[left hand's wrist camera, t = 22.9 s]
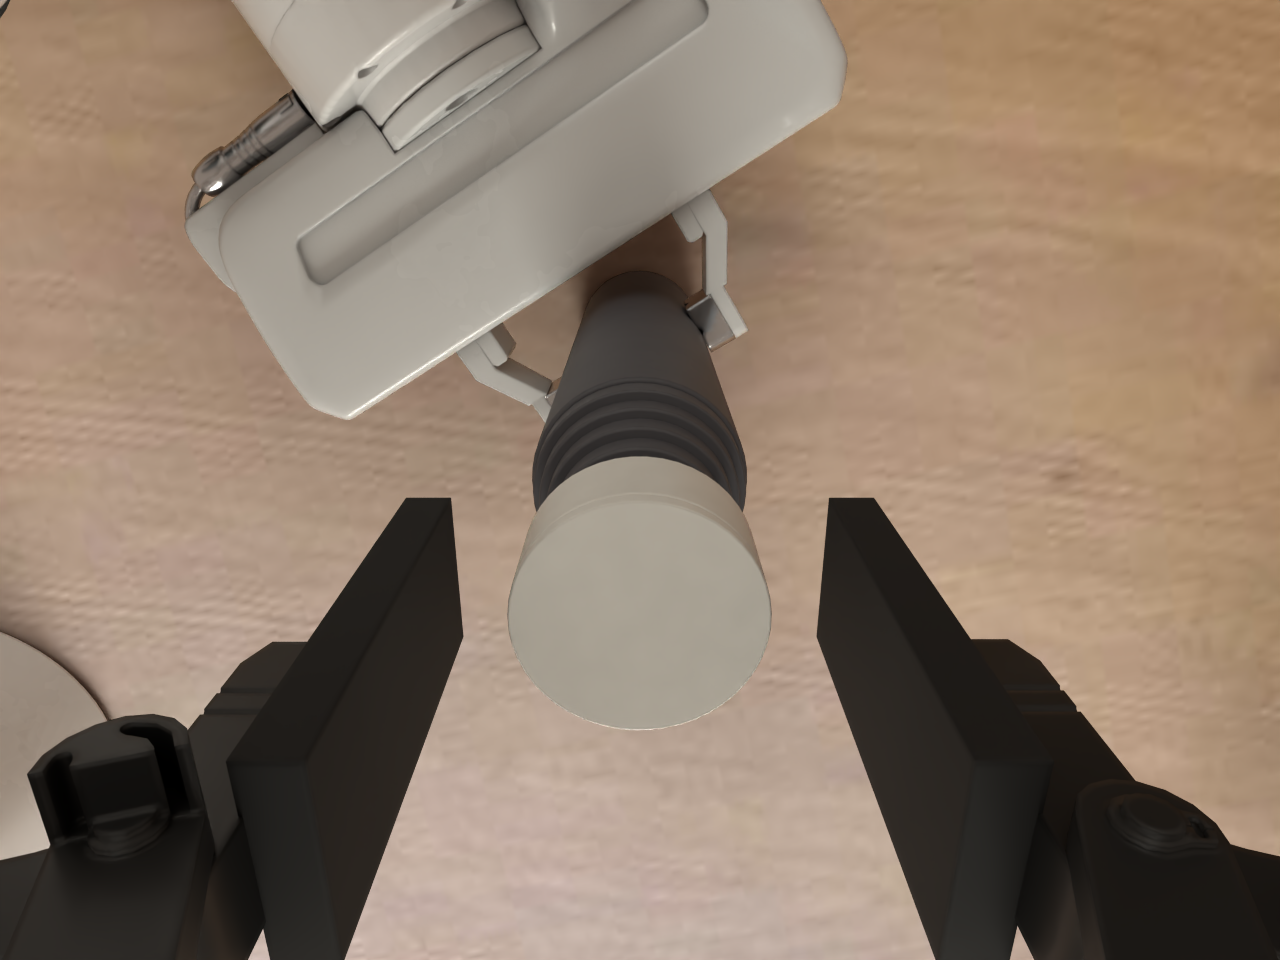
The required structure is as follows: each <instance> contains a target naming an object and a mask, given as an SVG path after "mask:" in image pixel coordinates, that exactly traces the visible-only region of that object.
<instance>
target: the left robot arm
mask: <svg viewBox="0 0 1280 960" xmlns="http://www.w3.org/2000/svg"><path fill="white" fill-rule="evenodd" d="M462 639H463V627H462V616H461V605H460V594H459V583H458V572H457V560H456V549H455V538H454V527H453V516H452V505H451V498H406V499H405V500H404V502H403V503H402V505H401V506H400V508H399V509H398V510H397V512H396V513H395V515H394V516H393V518H392V519H391V521H390V522H389V524H388V525H387V527H386V528H385V529H384V531H383V532H382V534H381V535H380V537H379V538H378V540H377V541H376V543H375V544H374V545H373V547H372V548H371V550H370V551H369V553H368V554H367V556H366V557H365V559H364V560H363V562H362V563H361V564H360V566H359V567H358V569H357V570H356V572H355V573H354V575H353V576H352V578H351V579H350V580H349V582H348V583H347V585H346V586H345V588H344V589H343V591H342V592H341V594H340V595H339V597H338V598H337V599H336V601H335V602H334V604H333V605H332V607H331V608H330V610H329V611H328V613H327V614H326V615H325V617H324V618H323V620H322V621H321V623H320V624H319V626H318V627H317V629H316V630H315V632H314V633H313V634H312V636H311V637H310V639H309V640H308V642H272V643H270V644H269V645H267V646H266V647H264V648H263V649H261V650H260V651H258V652H257V653H255V654H254V655H252V656H251V657H249V658H248V659H246V660H245V661H243V662H242V663H240V665H239V666H238V667H237V668H236V670H235V671H234V672H233V673H232V675H231V676H230V677H229V679H228V680H227V681H226V682H225V684H224V685H223V686H222V687H221V692H220V693H217V694H216V695H215V696H214V698H213V699H212V700H211V701H210V703H209V704H208V705H207V706H206V708H205V709H204V715H199V717H198V718H197V719H196V720H195V722H194V723H193V724H192V725H191V727H190V728H189V729H188V731H187V728H186V727H185V726H183V725H182V724H181V723H180V722H178V721H177V720H176V719H175V718H171V717H166V716H161V715H155V714H147V715H134V716H125V717H121V718H117V719H113V720H110V721H106V722H102V723H99V724H95V725H93V726H91V727H89V728H87V729H84V730H82V731H80V732H78V733H76V734H74V735H72V736H69V737H67V738H65V739H64V740H63V741H61V742H60V743H58V744H57V745H56V746H54V747H53V748H52V749H50V750H49V751H47V752H46V753H45V754H43V755H42V756H41V757H40V758H39V760H38V761H37V762H36V763H35V765H34V766H33V767H32V768H31V770H30V771H29V772H28V773H27V777H28V780H29V783H30V786H31V789H32V792H33V795H34V798H35V801H36V804H37V807H38V809H39V812H40V815H41V818H42V821H43V824H44V827H45V830H46V833H47V836H48V839H49V842H50V846H49V848H47V849H44V850H41V851H37V852H34V853H29V854H25V855H21V856H16V857H12V858H7V859H3V860H0V960H248V958H249V956H250V954H251V952H252V950H253V948H254V946H255V944H256V942H257V940H258V938H259V936H260V934H261V932H262V930H264V934H265V938H266V943H267V947H268V952H269V956H270V960H344V959H345V957H346V954H347V951H348V949H349V946H350V943H351V940H352V938H353V935H354V932H355V930H356V927H357V924H358V921H359V919H360V916H361V913H362V911H363V908H364V905H365V902H366V900H367V897H368V894H369V892H370V889H371V886H372V883H373V881H374V878H375V875H376V873H377V870H378V867H379V864H380V862H381V859H382V856H383V854H384V851H385V848H386V845H387V843H388V840H389V837H390V835H391V832H392V829H393V826H394V824H395V821H396V818H397V816H398V813H399V810H400V807H401V805H402V802H403V799H404V796H405V794H406V791H407V788H408V786H409V783H410V780H411V777H412V775H413V772H414V769H415V767H416V764H417V761H418V758H419V756H420V753H421V750H422V748H423V745H424V742H425V739H426V737H427V734H428V731H429V729H430V726H431V723H432V720H433V718H434V715H435V712H436V710H437V707H438V704H439V701H440V699H441V696H442V693H443V691H444V688H445V685H446V682H447V680H448V677H449V674H450V672H451V669H452V666H453V663H454V661H455V658H456V655H457V653H458V650H459V647H460V644H461V642H462ZM817 639H818V642H819V644H820V647H821V650H822V653H823V655H824V658H825V661H826V663H827V666H828V669H829V672H830V674H831V677H832V680H833V682H834V685H835V688H836V691H837V693H838V696H839V699H840V701H841V704H842V707H843V710H844V712H845V715H846V718H847V720H848V723H849V726H850V729H851V731H852V734H853V737H854V739H855V742H856V745H857V748H858V750H859V753H860V756H861V758H862V761H863V764H864V767H865V769H866V772H867V775H868V777H869V780H870V783H871V786H872V788H873V791H874V794H875V796H876V799H877V802H878V805H879V807H880V810H881V813H882V816H883V818H884V821H885V824H886V826H887V829H888V832H889V835H890V837H891V840H892V843H893V845H894V848H895V851H896V854H897V856H898V859H899V862H900V864H901V867H902V870H903V873H904V875H905V878H906V881H907V883H908V886H909V889H910V892H911V894H912V897H913V900H914V902H915V905H916V908H917V911H918V913H919V916H920V919H921V921H922V924H923V927H924V930H925V932H926V935H927V938H928V940H929V943H930V946H931V949H932V951H933V954H934V957H935V959H936V960H1010V956H1011V952H1012V947H1013V943H1014V938H1015V934H1016V930H1017V925H1018V927H1019V930H1020V932H1021V934H1022V936H1023V938H1024V940H1025V942H1026V944H1027V946H1028V948H1029V950H1030V952H1031V954H1032V956H1033V958H1034V960H1280V856H1275V855H1271V854H1266V853H1262V852H1258V851H1253V850H1249V849H1245V848H1242V847H1238V846H1235V845H1231V844H1230V843H1229V841H1228V840H1227V839H1226V837H1225V836H1224V834H1223V833H1222V831H1221V830H1220V828H1219V827H1218V826H1217V824H1216V823H1215V822H1214V821H1213V820H1211V819H1210V818H1209V817H1208V816H1206V815H1205V814H1204V813H1203V812H1202V811H1200V810H1199V809H1198V808H1197V807H1195V806H1194V805H1193V804H1191V803H1189V802H1187V801H1185V800H1183V799H1181V798H1179V797H1178V796H1176V795H1174V794H1172V793H1170V792H1168V791H1166V790H1163V789H1160V788H1157V787H1154V786H1150V785H1147V784H1144V783H1141V782H1137V781H1135V780H1134V778H1133V777H1132V776H1131V775H1130V773H1129V772H1128V771H1127V770H1126V768H1125V767H1124V766H1123V764H1122V763H1121V762H1120V761H1119V759H1118V758H1117V757H1116V756H1115V754H1114V753H1113V752H1112V751H1111V749H1110V748H1109V747H1108V746H1107V744H1106V743H1105V742H1104V741H1103V739H1102V738H1101V737H1100V736H1099V734H1098V733H1097V732H1096V730H1095V729H1094V728H1093V727H1092V725H1091V724H1090V723H1089V722H1088V720H1087V719H1086V718H1085V717H1084V715H1083V714H1082V713H1081V712H1077V710H1076V705H1075V704H1074V703H1073V702H1072V700H1071V699H1070V698H1069V696H1068V695H1067V694H1066V693H1065V691H1061V690H1060V685H1059V684H1058V683H1057V681H1056V680H1055V679H1054V678H1053V676H1052V675H1051V674H1050V673H1049V671H1048V670H1047V669H1046V668H1045V666H1044V665H1043V664H1042V662H1041V661H1040V660H1038V659H1037V658H1035V657H1034V656H1032V655H1031V654H1029V653H1028V652H1026V651H1025V650H1023V649H1022V648H1020V647H1019V646H1017V645H1016V644H1014V643H1013V642H1011V641H1010V640H1008V639H970V637H969V636H968V634H967V633H966V632H965V630H964V629H963V627H962V626H961V624H960V623H959V621H958V620H957V618H956V617H955V615H954V614H953V613H952V611H951V610H950V608H949V607H948V605H947V604H946V602H945V601H944V599H943V598H942V597H941V595H940V594H939V592H938V591H937V589H936V588H935V586H934V585H933V583H932V582H931V580H930V579H929V578H928V576H927V575H926V573H925V572H924V570H923V569H922V567H921V566H920V564H919V563H918V562H917V560H916V559H915V557H914V556H913V554H912V553H911V551H910V550H909V548H908V547H907V545H906V544H905V543H904V541H903V540H902V538H901V537H900V535H899V534H898V532H897V531H896V529H895V528H894V527H893V525H892V524H891V522H890V521H889V519H888V518H887V516H886V515H885V513H884V512H883V510H882V509H881V508H880V506H879V505H878V503H877V502H876V500H875V499H874V498H829V505H828V516H827V527H826V538H825V549H824V560H823V572H822V583H821V594H820V605H819V616H818V627H817Z"/></svg>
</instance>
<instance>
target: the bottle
mask: <svg viewBox="0 0 1280 960" xmlns="http://www.w3.org/2000/svg"><path fill="white" fill-rule="evenodd" d="M686 299H688V297H687V295H686V294H685V293H684V292H683V290H682V289H681V288H680V287H679V286H678V285H676V284H675V283H674V282H672V281H671V280H670V279H668V278H666V277H664V276H661V275H659V274H656V273H651V272H645V271H634V272H628V273H624V274H621V275H618V276H616V277H614V278H612V279H610V280H608V281H607V282H606V283H604V284H603V285H602V286H601V287H600V288H599V289H598V290H597V291H596V292H595V293H594V294H593V296H592V298H591V299H590V301H589V303H588V305H587V307H586V310H585V313H584V315H583V318H582V321H581V324H580V327H579V330H578V332H577V335H576V338H575V341H574V344H573V347H572V349H571V352H570V355H569V358H568V361H567V364H566V366H565V369H564V372H563V375H562V378H561V380H560V383H559V386H558V389H557V392H556V395H555V397H554V400H553V403H552V406H551V409H550V412H549V414H548V417H547V420H546V423H545V426H544V429H543V431H542V434H541V437H540V440H539V443H538V446H537V449H536V452H535V456H534V462H533V473H532V482H533V495H534V504H535V508H536V512H537V511H538V509H539V508H540V506H541V505H542V504H543V502H544V501H545V500H546V498H547V497H548V496H549V495H550V494H551V493H552V492H553V491H554V490H555V489H556V488H557V487H558V486H559V485H560V484H561V483H563V482H564V481H565V480H567V479H568V478H570V477H571V476H572V475H574V474H576V473H578V472H580V471H581V470H583V469H585V468H587V467H590V466H592V465H595V464H598V463H600V462H604V461H608V460H612V459H616V458H624V457H655V458H663V459H667V460H671V461H675V462H679V463H681V464H684V465H687V466H689V467H692V468H694V469H696V470H698V471H699V472H701V473H703V474H705V475H707V476H708V477H709V478H711V479H712V480H714V481H715V482H716V483H718V484H719V485H720V486H721V487H722V488H723V489H724V490H725V491H726V492H727V493H728V494H729V495H730V496H731V497H732V498H733V500H734V501H735V502H736V503H737V505H738V506H739V508H740V509H741V511H742V513H743V509H744V505H745V497H746V484H747V467H746V461H745V455H744V452H743V448H742V445H741V442H740V439H739V436H738V434H737V431H736V428H735V425H734V422H733V419H732V416H731V414H730V411H729V408H728V405H727V402H726V399H725V397H724V394H723V391H722V388H721V385H720V382H719V380H718V377H717V374H716V371H715V368H714V365H713V363H712V360H711V357H710V354H709V351H708V348H707V345H706V343H705V341H704V338H703V336H702V333H701V330H700V328H697V326H696V325H695V324H694V323H693V321H692V319H691V318H690V316H689V314H688V313H687V311H686V309H685V305H684V302H683V301H685V300H686Z"/></svg>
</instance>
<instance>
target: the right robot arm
mask: <svg viewBox="0 0 1280 960" xmlns="http://www.w3.org/2000/svg"><path fill="white" fill-rule="evenodd" d="M231 1H232V2H233V3H234V5H235V7H236V8H237V9H238V11H239V12H240V14H241V15H242V17H243V18H244V19H245V21H246V22H247V24H248V25H249V27H250V28H251V29H252V31H253V32H254V34H255V35H256V37H257V38H258V39H259V41H260V42H261V44H262V45H263V47H264V48H265V49H266V51H267V52H268V54H269V55H270V56H271V58H272V59H273V61H274V62H275V63H276V65H277V66H278V67H279V69H280V70H281V72H282V73H283V75H284V76H285V78H286V79H287V81H288V82H289V84H290V85H291V86H292V88H293V89H292V91H291V92H290V93H287V94H286V95H284V96H283V97H282V98H280V99H279V101H278V102H276V103H275V104H274V105H272V106H271V107H270V108H268V109H267V110H266V111H264V112H263V113H262V114H261V115H259V116H258V117H257V118H256V119H255V120H254V121H253V122H252V123H251V124H250V125H249V126H248V127H247V128H246V129H245V130H244V131H243V132H242V133H241V134H240V135H239V136H237V137H236V138H235V139H234V140H233V141H231V142H230V143H229V144H227V145H226V146H225V147H223V146H221V147H219V148H216V149H215V150H213V151H212V152H210V153H209V154H208V155H206V156H205V157H204V158H203V159H202V160H201V161H200V162H199V163H198V164H197V165H196V167H195V168H194V169H193V171H192V178H193V180H194V182H195V183H194V185H193V186H192V188H191V190H190V191H189V193H188V196H187V199H186V204H185V230H186V233H187V235H188V237H189V239H190V241H191V243H192V244H193V246H194V247H195V249H196V250H197V251H198V253H199V254H200V255H201V256H202V258H203V259H204V260H205V261H206V263H207V264H208V265H209V267H210V268H211V269H212V270H213V272H214V273H215V274H216V275H217V277H218V278H219V279H220V280H221V281H222V282H223V283H224V284H225V285H226V286H227V287H228V288H230V289H231V290H233V291H234V292H236V293H237V294H238V296H239V298H240V300H241V302H242V304H243V305H244V307H245V309H246V311H247V312H248V314H249V316H250V318H251V319H252V321H253V323H254V324H255V326H256V328H257V330H258V331H259V333H260V335H261V336H262V338H263V339H264V341H265V343H266V344H267V346H268V347H269V349H270V351H271V352H272V354H273V355H274V357H275V358H276V360H277V361H278V363H279V364H280V366H281V367H282V369H283V370H284V372H285V373H286V375H287V376H288V378H289V379H290V380H291V382H292V383H293V385H294V386H295V388H296V389H297V390H298V392H299V393H300V394H301V396H302V397H303V398H304V399H305V401H306V402H307V403H308V404H309V405H310V406H311V407H312V408H314V409H315V410H317V411H320V412H323V413H326V414H329V415H332V416H335V417H338V418H341V419H345V420H350V419H353V418H355V417H356V416H358V415H360V414H361V413H363V412H364V411H366V410H367V409H369V408H371V407H372V406H374V405H375V404H377V403H378V402H380V401H381V400H383V399H384V398H386V397H388V396H389V395H391V394H392V393H394V392H395V391H397V390H398V389H400V388H401V387H403V386H405V385H406V384H408V383H409V382H411V381H412V380H414V379H415V378H417V377H418V376H420V375H422V374H423V373H425V372H426V371H428V370H429V369H431V368H432V367H434V366H435V365H437V364H439V363H440V362H442V361H443V360H445V359H446V358H448V357H449V356H451V355H452V354H454V353H457V354H458V356H459V357H460V359H461V360H462V361H463V363H464V364H465V366H466V367H467V368H468V370H469V371H470V373H471V374H472V375H473V377H474V378H475V380H476V381H478V382H480V383H482V384H484V385H486V386H488V387H490V388H492V389H495V390H497V391H499V392H501V393H503V394H505V395H507V396H509V397H511V398H513V399H515V400H518V401H520V402H522V403H524V404H526V405H528V406H530V405H533V406H534V408H535V409H536V411H537V412H538V413H539V415H540V416H541V418H542V419H543V421H544V422H545V423H546V420H547V417H548V414H549V412H550V409H551V406H552V403H553V400H554V397H555V395H556V392H557V389H558V386H559V383H560V380H561V378H562V377H560V378H558V379H557V380H555V381H553V382H552V381H551V380H550V379H548V378H546V377H544V376H542V375H540V374H538V373H537V372H535V371H533V370H531V369H529V368H527V367H525V366H524V365H522V364H520V363H518V362H516V361H514V360H513V359H511V358H509V356H510V355H511V353H512V352H513V350H514V348H515V346H516V342H515V341H514V339H513V338H512V336H511V335H510V333H509V332H508V330H507V329H506V327H505V326H504V324H503V323H502V322H503V321H505V320H507V319H508V318H510V317H511V316H513V315H514V314H516V313H517V312H519V311H521V310H522V309H524V308H525V307H527V306H528V305H530V304H531V303H533V302H534V301H536V300H538V299H539V298H541V297H542V296H544V295H545V294H547V293H548V292H550V291H551V290H553V289H555V288H556V287H558V286H559V285H561V284H562V283H564V282H565V281H567V280H568V279H570V278H572V277H573V276H575V275H576V274H578V273H579V272H581V271H582V270H584V269H585V268H587V267H589V266H590V265H592V264H593V263H595V262H596V261H598V260H599V259H601V258H602V257H604V256H606V255H607V254H609V253H610V252H612V251H613V250H615V249H616V248H618V247H619V246H621V245H623V244H624V243H626V242H627V241H629V240H630V239H632V238H633V237H635V236H636V235H638V234H640V233H641V232H643V231H644V230H646V229H647V228H649V227H650V226H652V225H653V224H655V223H657V222H658V221H660V220H661V219H663V218H664V217H666V216H667V215H669V214H670V213H671V214H672V216H673V218H674V219H675V221H676V223H677V224H678V226H679V228H680V229H681V231H682V233H683V234H684V236H685V238H686V239H687V241H688V242H694V241H696V240H698V239H699V238H701V237H702V288H703V289H702V290H700V291H699V292H697V293H695V294H694V295H692V296H691V297H689V298H688V299H686V300H685V301H683V302H684V305H685V309H686V311H687V313H688V314H689V316H690V318H691V319H692V321H693V323H694V324H695V325H696V326H697V328H700V330H701V333H702V336H703V338H704V341H705V343H706V345H707V346H708V348H709V349H710V351H711V352H713V351H715V350H716V349H718V348H720V347H722V346H723V345H725V344H727V343H728V342H730V341H732V340H734V339H735V338H737V337H738V336H740V335H742V334H744V333H745V332H747V331H749V330H748V328H747V326H746V324H745V322H744V320H743V318H742V317H741V315H740V313H739V312H738V310H737V308H736V306H735V305H734V303H733V301H732V299H731V298H730V296H729V294H728V292H727V291H726V289H725V287H724V285H726V284H727V220H726V218H725V216H724V215H723V213H722V211H721V209H720V207H719V206H718V204H717V202H716V200H715V198H714V197H713V195H712V193H711V191H710V189H709V188H711V187H712V186H714V185H715V184H717V183H718V182H720V181H721V180H723V179H725V178H726V177H728V176H729V175H731V174H732V173H734V172H735V171H737V170H738V169H740V168H742V167H743V166H745V165H746V164H748V163H749V162H751V161H752V160H754V159H755V158H757V157H759V156H760V155H762V154H763V153H765V152H766V151H768V150H769V149H771V148H772V147H774V146H776V145H777V144H779V143H780V142H782V141H783V140H785V139H786V138H788V137H789V136H791V135H793V134H794V133H796V132H797V131H799V130H800V129H802V128H803V127H805V126H806V125H808V124H810V123H811V122H813V121H814V120H816V119H817V118H819V117H820V116H822V115H823V114H825V113H826V112H828V111H830V110H831V109H833V108H834V107H835V106H836V105H838V103H839V102H840V100H841V97H842V93H843V88H844V84H845V79H846V72H847V65H848V60H847V54H846V51H845V48H844V45H843V43H842V41H841V39H840V37H839V35H838V32H837V30H836V28H835V26H834V24H833V23H832V21H831V19H830V17H829V15H828V13H827V11H826V9H825V7H824V6H823V4H822V2H821V0H231ZM9 2H10V0H0V18H1V16H2V15H3V13H4V12H5V10H6V9H7V6H8V4H9ZM261 162H262V163H261ZM258 164H259V165H258ZM257 165H258V166H257ZM255 166H256V167H255ZM253 168H254V169H253ZM249 171H250V172H249ZM205 194H207V195H209V196H211V197H215V196H216V197H215V198H213V199H212V200H211V201H209V202H208V203H207V204H205V205H204V206H203V207H201V208H200V209H199V207H200V203H201V201H202V198H203V196H204V195H205ZM106 721H107V719H106V717H105V715H104V714H103V712H102V710H101V709H100V707H99V706H98V704H97V703H96V702H95V700H94V699H93V698H92V696H91V695H90V694H89V693H88V692H87V691H86V689H85V688H84V687H83V686H82V685H81V684H80V683H79V682H78V681H77V680H76V679H75V678H74V677H73V676H72V675H71V674H70V673H69V672H67V671H66V670H65V669H64V668H63V667H61V666H60V665H59V664H58V663H56V662H55V661H53V660H52V659H51V658H49V657H48V656H46V655H45V654H43V653H42V652H40V651H39V650H37V649H35V648H33V647H32V646H30V645H28V644H26V643H24V642H22V641H20V640H18V639H16V638H14V637H12V636H10V635H7V634H5V633H2V632H0V860H3V859H7V858H12V857H16V856H21V855H25V854H29V853H34V852H37V851H41V850H44V849H47V848H49V846H50V842H49V839H48V836H47V833H46V830H45V827H44V824H43V821H42V818H41V815H40V812H39V809H38V807H37V804H36V801H35V798H34V795H33V792H32V789H31V786H30V783H29V780H28V777H27V773H28V772H29V771H30V770H31V768H32V767H33V766H34V765H35V763H36V762H37V761H38V760H39V758H40V757H41V756H42V755H43V754H45V753H46V752H47V751H49V750H50V749H52V748H53V747H54V746H56V745H57V744H58V743H60V742H61V741H63V740H64V739H65V738H67V737H69V736H72V735H74V734H76V733H78V732H80V731H82V730H84V729H87V728H89V727H91V726H93V725H95V724H99V723H102V722H106Z"/></svg>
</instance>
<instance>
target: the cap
mask: <svg viewBox="0 0 1280 960" xmlns="http://www.w3.org/2000/svg"><path fill="white" fill-rule="evenodd" d="M507 615H508V629H509V634H510V638H511V643H512V646H513V648H514V651H515V654H516V656H517V659H518V660H519V662H520V664H521V666H522V668H523V669H524V671H525V673H526V674H527V675H528V677H529V678H530V680H531V681H532V682H533V684H534V685H535V686H536V687H537V688H538V689H539V690H540V691H541V692H542V693H543V694H544V695H545V696H546V697H548V698H549V699H550V700H551V701H553V702H554V703H555V704H556V705H558V706H560V707H561V708H563V709H564V710H566V711H568V712H569V713H571V714H573V715H575V716H577V717H580V718H582V719H584V720H587V721H590V722H593V723H596V724H599V725H602V726H607V727H612V728H617V729H626V730H653V729H662V728H668V727H672V726H677V725H681V724H684V723H687V722H689V721H692V720H695V719H697V718H699V717H702V716H704V715H706V714H708V713H710V712H712V711H713V710H715V709H716V708H718V707H719V706H721V705H723V704H724V703H725V702H726V701H728V700H729V699H730V698H731V697H733V696H734V695H735V694H736V693H737V692H738V691H739V690H740V689H741V688H742V687H743V686H744V685H745V684H746V682H747V681H748V680H749V678H750V677H751V676H752V674H753V673H754V671H755V670H756V668H757V666H758V664H759V662H760V660H761V659H762V657H763V654H764V651H765V649H766V646H767V643H768V639H769V634H770V629H771V615H772V613H771V601H770V595H769V591H768V587H767V583H766V580H765V576H764V573H763V570H762V566H761V563H760V560H759V556H758V553H757V550H756V546H755V543H754V539H753V536H752V533H751V530H750V527H749V525H748V522H747V520H746V518H745V516H744V514H743V513H742V511H741V509H740V508H739V506H738V505H737V503H736V502H735V501H734V500H733V498H732V497H731V496H730V495H729V494H728V493H727V492H726V491H725V490H724V489H723V488H722V487H721V486H720V485H719V484H718V483H716V482H715V481H714V480H712V479H711V478H709V477H708V476H707V475H705V474H703V473H701V472H699V471H698V470H696V469H694V468H692V467H689V466H687V465H684V464H681V463H679V462H675V461H671V460H667V459H663V458H655V457H624V458H616V459H612V460H608V461H604V462H600V463H598V464H595V465H592V466H590V467H587V468H585V469H583V470H581V471H580V472H578V473H576V474H574V475H572V476H571V477H570V478H568V479H567V480H565V481H564V482H563V483H561V484H560V485H559V486H558V487H557V488H556V489H555V490H554V491H553V492H552V493H551V494H550V495H549V496H548V497H547V498H546V500H545V501H544V502H543V504H542V505H541V506H540V508H539V509H538V511H537V513H536V515H535V516H534V518H533V520H532V523H531V525H530V528H529V530H528V533H527V536H526V540H525V543H524V546H523V550H522V553H521V556H520V560H519V563H518V566H517V570H516V573H515V577H514V580H513V583H512V587H511V591H510V596H509V601H508V614H507Z"/></svg>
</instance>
